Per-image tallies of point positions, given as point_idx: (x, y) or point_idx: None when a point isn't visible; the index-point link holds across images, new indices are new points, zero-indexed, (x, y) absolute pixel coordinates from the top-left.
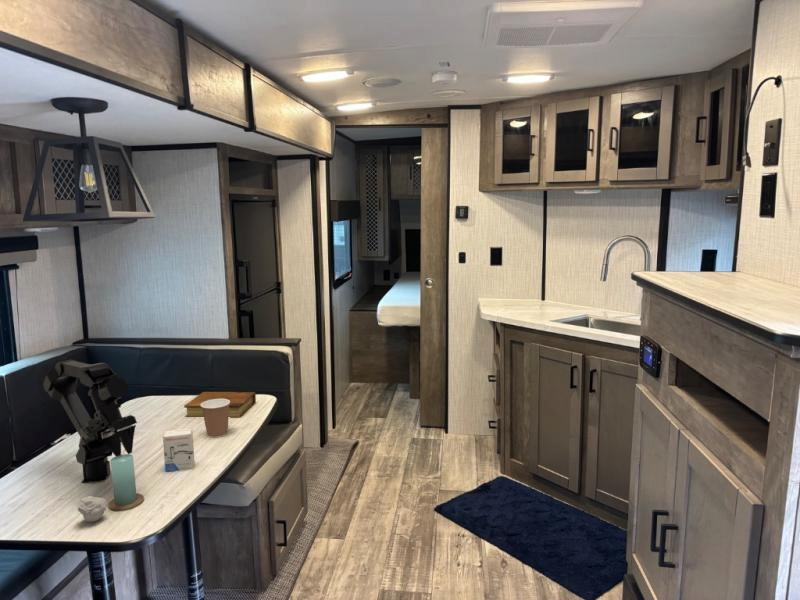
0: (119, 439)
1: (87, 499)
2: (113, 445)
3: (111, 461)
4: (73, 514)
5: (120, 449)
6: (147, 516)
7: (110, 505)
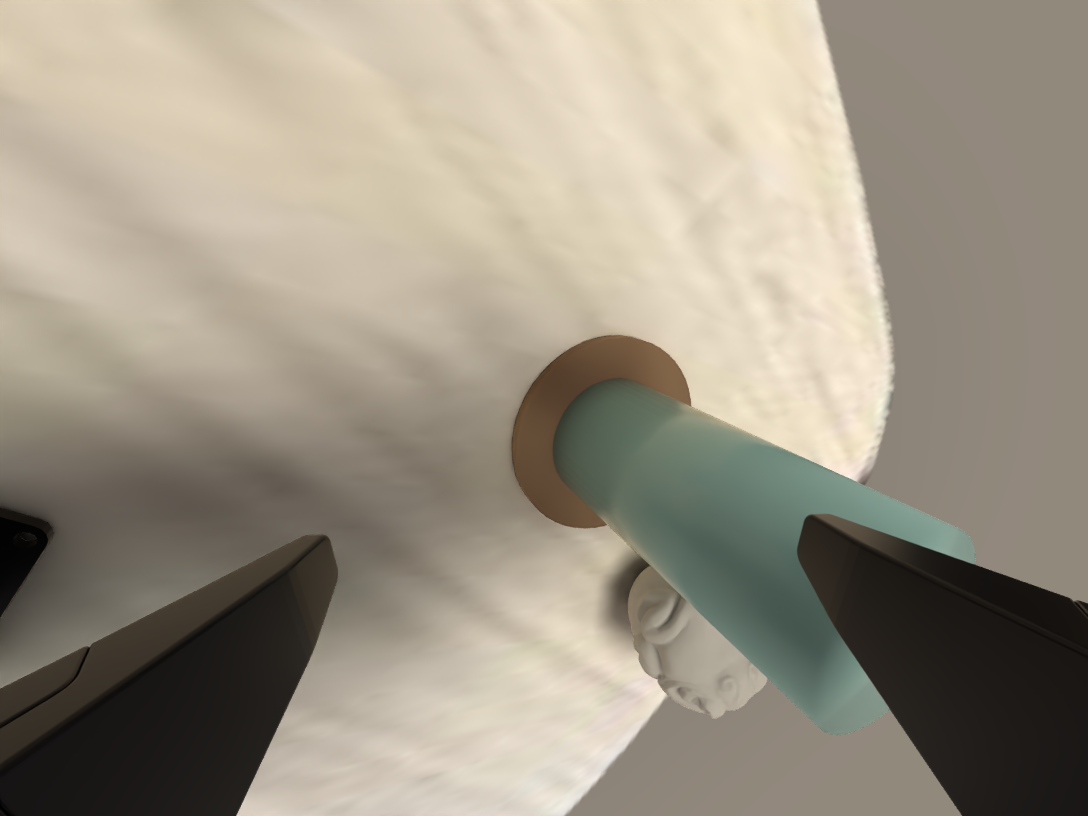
0: (14, 802)
1: (754, 691)
2: (198, 804)
3: (868, 720)
4: (516, 669)
5: (264, 597)
6: (792, 380)
7: (596, 517)
